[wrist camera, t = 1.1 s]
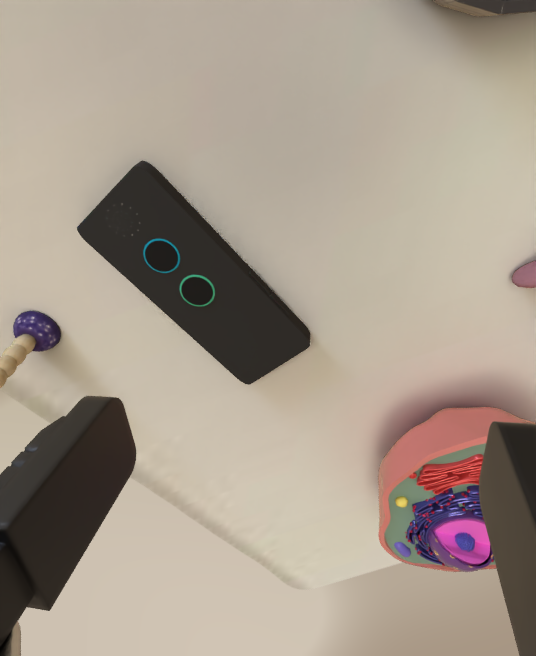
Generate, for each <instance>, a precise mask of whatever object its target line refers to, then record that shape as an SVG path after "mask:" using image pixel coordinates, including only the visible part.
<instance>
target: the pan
mask: <svg viewBox="0 0 536 656" xmlns="http://www.w3.org/2000/svg"><path fill="white" fill-rule="evenodd" d="M433 1H434V2H435V3H436V4H438V5H440V6H443V7H446V8H449V9H453V10H456V11H459V12H463V13H466V14H469V15H473V16H479V17H482V16H493V15H504V14H515V13H526V12H536V0H433Z"/></svg>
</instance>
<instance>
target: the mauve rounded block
mask: <svg viewBox="0 0 536 656" xmlns="http://www.w3.org/2000/svg"><path fill="white" fill-rule="evenodd" d="M512 281H513V283H514V284H515V285H516V286H519V287H525V288H535V287H536V261H533V262H530V263H528V264H526V265H524V266H522V267H520V268H519V269H518V270H516V271H515V272H514V274H513V276H512Z"/></svg>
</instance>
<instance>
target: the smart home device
mask: <svg viewBox="0 0 536 656" xmlns="http://www.w3.org/2000/svg"><path fill="white" fill-rule="evenodd" d="M77 230H78V232H79V234H80V235H81V237H82V238H83V239H84V240H85V241H86V242H87V243H88V244H89V245H90V246H92V247H93V248H94V249H95V250H96V251H97V252H98V253H99V254H100V255H101V256H103V257H104V258H105V259H106V260H107V261H108V262H109V263H110V264H111V265H113V266H114V267H115V268H116V269H117V270H118V271H119V272H120V273H121V274H122V275H124V276H125V277H126V278H127V279H128V280H129V281H130V282H131V283H132V284H134V285H135V286H136V287H137V288H138V289H139V290H140V291H141V292H142V293H143V294H145V295H146V296H147V297H148V298H149V299H150V300H151V301H152V302H153V303H155V304H156V305H157V306H158V307H159V308H160V309H161V310H162V311H163V312H164V313H166V314H167V315H168V316H169V317H170V318H171V319H172V320H173V321H174V322H176V323H177V324H178V325H179V326H180V327H181V328H182V329H183V330H184V331H185V332H187V333H188V334H189V335H190V336H191V337H192V338H193V339H194V340H195V341H197V342H198V343H199V344H200V345H201V346H202V347H203V348H204V349H205V350H206V351H208V352H209V353H210V354H211V355H212V356H213V357H214V358H215V359H216V360H218V361H219V362H220V363H221V364H222V365H223V366H224V367H225V368H226V369H227V370H229V371H230V372H231V373H232V374H233V375H234V376H235V377H236V378H237V379H239V380H240V381H241V382H243V383H245V384H251V383H253V382H255V381H256V380H258V379H260V378H261V377H263V376H264V375H266V374H268V373H269V372H271V371H272V370H274V369H275V368H277V367H279V366H280V365H282V364H283V363H285V362H287V361H288V360H290V359H291V358H293V357H294V356H296V355H298V354H299V353H301V352H302V351H304V350H306V349H307V348H308V347H309V346H310V332H309V330H308V329H307V327H306V326H305V325H304V324H303V323H302V322H301V321H300V320H299V319H298V318H297V317H296V316H295V314H294V313H293V312H292V311H291V310H290V309H289V308H288V307H287V306H286V305H285V304H284V303H283V302H282V301H281V300H280V299H279V298H278V297H277V296H276V294H275V293H274V292H273V291H272V290H271V289H270V288H269V287H268V286H267V285H266V284H265V283H264V282H263V281H262V280H261V279H260V278H259V277H258V276H257V274H256V273H255V272H254V271H253V270H252V269H251V268H250V267H249V266H248V265H247V264H246V263H245V262H244V261H243V260H242V259H241V258H240V257H239V256H238V255H237V253H236V252H235V251H234V250H233V249H232V248H231V247H230V246H229V245H228V244H227V243H226V242H225V241H224V240H223V239H222V238H221V237H220V236H219V235H218V233H217V232H216V231H215V230H214V229H213V228H212V227H211V226H210V225H209V224H208V223H207V222H206V221H205V220H204V219H203V218H202V217H201V216H200V215H199V214H198V212H197V211H196V210H195V209H194V208H193V207H192V206H191V205H190V204H189V203H188V202H187V201H186V200H185V199H184V198H183V197H182V196H181V195H180V194H179V192H178V191H177V190H176V189H175V188H174V187H173V186H172V185H171V184H170V183H169V182H168V181H167V180H166V179H165V178H164V177H163V176H162V175H161V174H160V172H159V171H158V170H157V169H156V168H154V167H153V166H152V165H151V164H149V163H147V162H145V161H141V162H139V163H138V164H137V165H135V166H134V167H133V168H132V169H131V170H130V171H129V172H128V173H127V174H126V175H125V176H124V178H123V179H122V180H121V181H120V182H119V183H118V184H117V185H116V186H115V187H114V188H113V189H112V190H111V191H110V193H109V194H108V195H107V196H106V197H105V198H104V199H103V200H102V201H101V202H100V203H99V204H98V205H97V207H96V208H95V209H94V210H93V211H92V212H91V213H90V214H89V215H88V216H87V217H86V218H85V219H84V220H83V222H82V223H81V224H80V225H79V226H78V227H77Z"/></svg>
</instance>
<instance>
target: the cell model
mask: <svg viewBox="0 0 536 656" xmlns="http://www.w3.org/2000/svg"><path fill="white" fill-rule="evenodd" d="M494 421H497V422H513V423H530V424H536V423H534V422H531V421H528V420H525V419H521V418H519V417H517V416H515V415H512V414H510V413H508V412H506V411H504V410H501V409H498V408H493V407H474V408H445V409H442V410H440V411H438V412H436V413H435V414H434V415H433V416H431V417H430V418H429V419H428V420H426V421H425V422H423V423H421V424H419V425H417V426H416V427H414V428H412V429H410V430H409V431H408V432H407V433H405V434H404V435H403V436H402V437H401V438H400V439H399V440H398V441H397V442H396V443H395V444H394V446H393V447H392V448H391V449H390V451H389V452H388V453H387V454H386V455H385V457H384V458H383V460H382V461H381V464H380V468H379V473H378V483H379V515H380V517H379V540H380V543H381V545H382V547H383V548H384V549H385V550H386V551H387V552H388V553H389V554H390V555H392V556H393V557H394V558H396V559H398V560H400V561H402V562H404V563H408V564H411V565H415V566H420V567H425V568H430V569H437V570H443V571H454V572H460V571H464V572H472V571H477V570H480V569H497V568H496V564H495V560H494V556H493V552H492V549H491V545H490V541H489V537H488V534H487V530H486V526H485V522H484V518H483V515H482V511H481V506H480V499H479V477H480V472H481V467H482V462H483V457H484V452H485V447H486V442H487V437H488V432H489V428H490V425H491V423H492V422H494Z"/></svg>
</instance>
